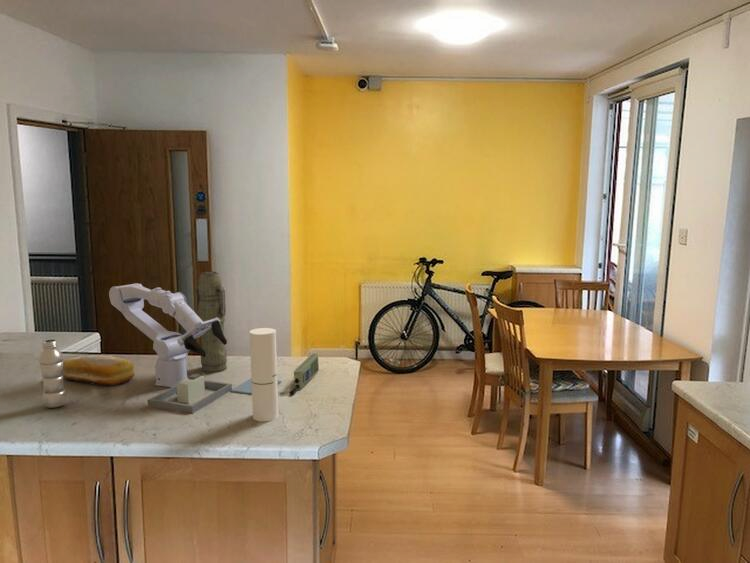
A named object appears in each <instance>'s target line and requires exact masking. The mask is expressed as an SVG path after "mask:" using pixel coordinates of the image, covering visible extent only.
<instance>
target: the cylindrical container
mask: <svg viewBox="0 0 750 563" xmlns="http://www.w3.org/2000/svg"><path fill="white" fill-rule="evenodd" d="M249 351H250V353H249V354H250V378H251V381H252V395H251V399H252V400H251V401H252V402H251V405H252V418H253V420H254V421H257V422H271V421H274V420H276V419H277V418H278V417H279V397H278V396H279V393H278V392H279V391H278V389H279V388H278V387H279V386H278V385H277V380H278V362H277V361H278V359H277V358H278V356H277V330H276V329H274V328H271V327H259V328H253V329H250V330H249Z"/></svg>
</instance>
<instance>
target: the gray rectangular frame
mask: <svg viewBox="0 0 750 563" xmlns="http://www.w3.org/2000/svg"><path fill="white" fill-rule="evenodd" d="M204 386H205V389H206V388H207V389H213V390H215V391H214V392H211V393H210V394H208V395H207V396H204V397H203V398H201V399H200V400H198V401H195V402H194V403H192V404H190V403H183V402H176V401H175V402H174V401H167V400H166V399H167V398H171V397H172V396H174V395H176V394H177V385H176V386H174V387H169V388H168V389H166V390H165V391H162V392H160V393H158V394H156V395H154V396H152V397H151V398H148V399H147V407H151V408H158V409H164V410H170V411H175V412H183V413H184V412H185V413H190V414H194V413H195V412H197V411H200V410H201V409H202V408H204V407H206V406H208V405H209V404H211V403H213V402H214V401H217V400H218V399H219V398H221V397H223V396H224V395H226V394H228V393H229V392H231V390H232V389H233V384H232V383H227V382H220V381H212V380H205V379H204Z"/></svg>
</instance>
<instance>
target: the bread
mask: <svg viewBox="0 0 750 563" xmlns="http://www.w3.org/2000/svg"><path fill="white" fill-rule="evenodd" d="M134 376H135V366H134V363H133V362H132V361H130V360H128V359H125V358H122V357H117V356H112V355H104V354H103V355H102V354H101V355H100V354H90V355H89V354H88V355H81V356H75V357H70V358H68V359H65V360H63V378H65V379H67V380H70V381H76V382H81V383H82V382H83V383H87V384H92V385H99V386H105V387H106V386H107V387H109V386H110V387H111V386H114V385H118V384H124V383H126V382H129V381H130V380H131V379H133V378H134Z"/></svg>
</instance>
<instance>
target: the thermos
mask: <svg viewBox="0 0 750 563" xmlns="http://www.w3.org/2000/svg"><path fill="white" fill-rule="evenodd" d="M195 291H196V303H197V312H198V317H199V318H200V319H201V320H202V321H203V322H205V321H208V320H212V319H214V318H217V317H218V318H219V319H220V320H221V325H220V326H221V330H222V332H223V335H224V336H225V329H224V326H225V325H224V323H225V321H226V319H225V318H226V317H225V316H226V308H227V307H226V290H225V289H224V287H223V286H222V278H221V276H220V273H219V272H217V271H204V272H203V271H202V273H200V275H199V280H198V285H197V287H196V289H195ZM200 337H201V338H200V339H201V348H202V349H203V350H204V351H205V352H206V356H205V357H203V356H201V355H200V364H201V372H203V373H206V374H215V373H221V372H224V371H226V370H227V369H228V366H227V362H228V359H227V357H228V356H227V348H226V346H225V345H224V344H223V343H222V342H221V341H220V340H219V339H218V338H217V337H216V336H214V335H213V331H212V329H210V330H208V331H206V332H205V333H204V334H203V335H201V336H200Z"/></svg>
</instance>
